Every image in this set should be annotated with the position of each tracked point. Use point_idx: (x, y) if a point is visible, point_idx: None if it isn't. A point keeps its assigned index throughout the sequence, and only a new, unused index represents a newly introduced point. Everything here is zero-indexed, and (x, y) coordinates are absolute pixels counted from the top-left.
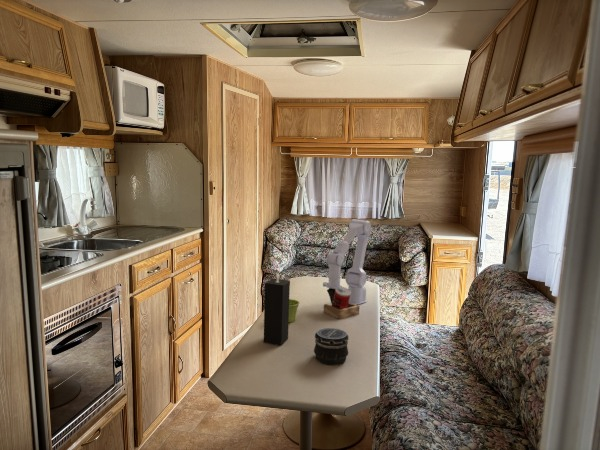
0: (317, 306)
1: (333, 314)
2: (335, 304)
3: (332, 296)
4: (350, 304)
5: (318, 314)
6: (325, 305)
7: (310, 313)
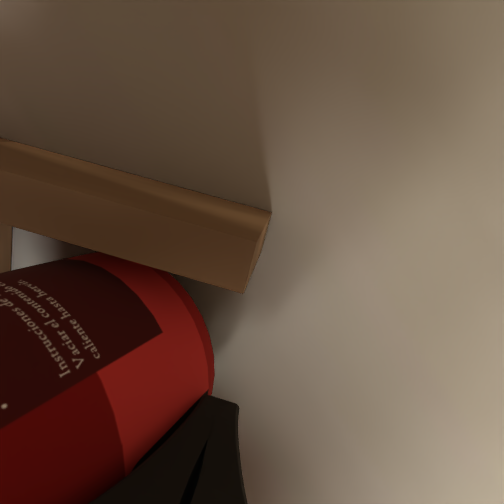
0: (471, 369)
1: (76, 165)
2: (18, 279)
3: (138, 487)
4: None
5: (283, 90)
6: (216, 228)
7: (409, 36)
